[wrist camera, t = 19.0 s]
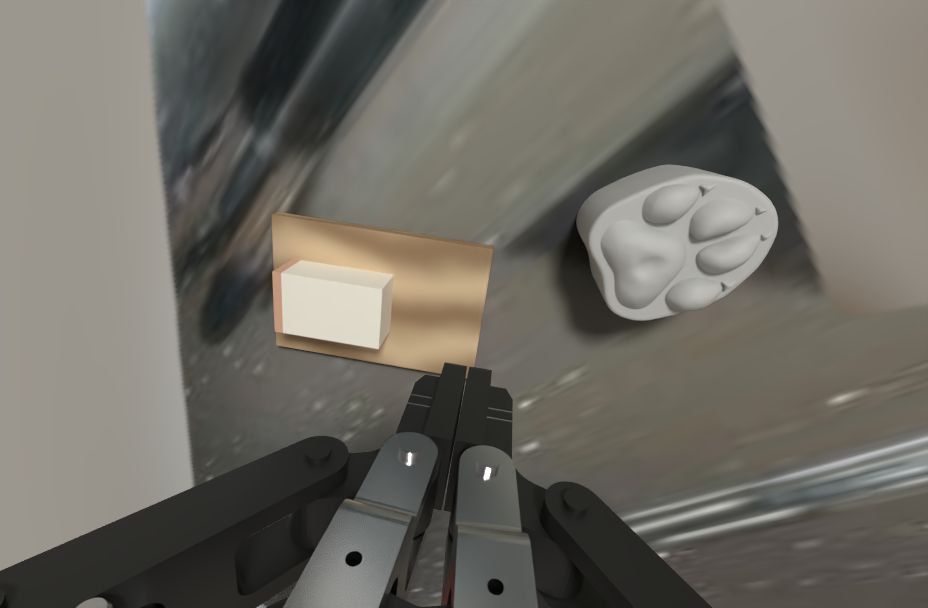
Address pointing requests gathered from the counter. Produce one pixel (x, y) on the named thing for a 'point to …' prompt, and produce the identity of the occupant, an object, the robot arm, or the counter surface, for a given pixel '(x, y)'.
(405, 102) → the counter surface
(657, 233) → the paw stamp
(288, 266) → the block
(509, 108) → the counter surface
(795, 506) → the counter surface
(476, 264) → the board
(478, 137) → the counter surface
